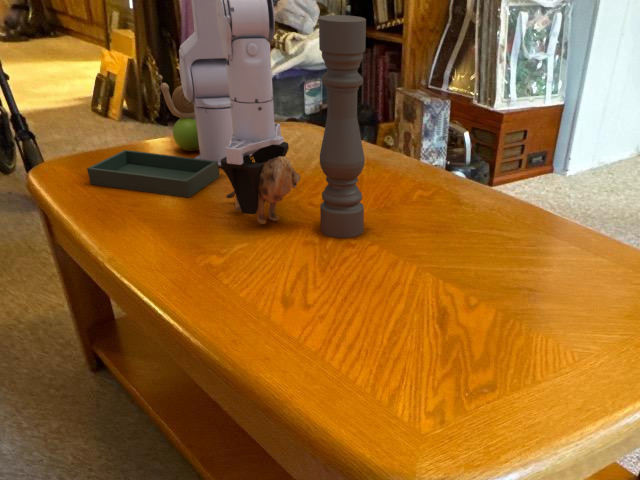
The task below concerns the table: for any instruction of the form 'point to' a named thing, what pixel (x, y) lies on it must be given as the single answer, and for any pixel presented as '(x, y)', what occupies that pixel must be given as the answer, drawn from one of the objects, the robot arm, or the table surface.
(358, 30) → the candle holder
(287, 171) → the lion figurine
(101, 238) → the table surface
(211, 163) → the tray
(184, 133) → the snail figurine
